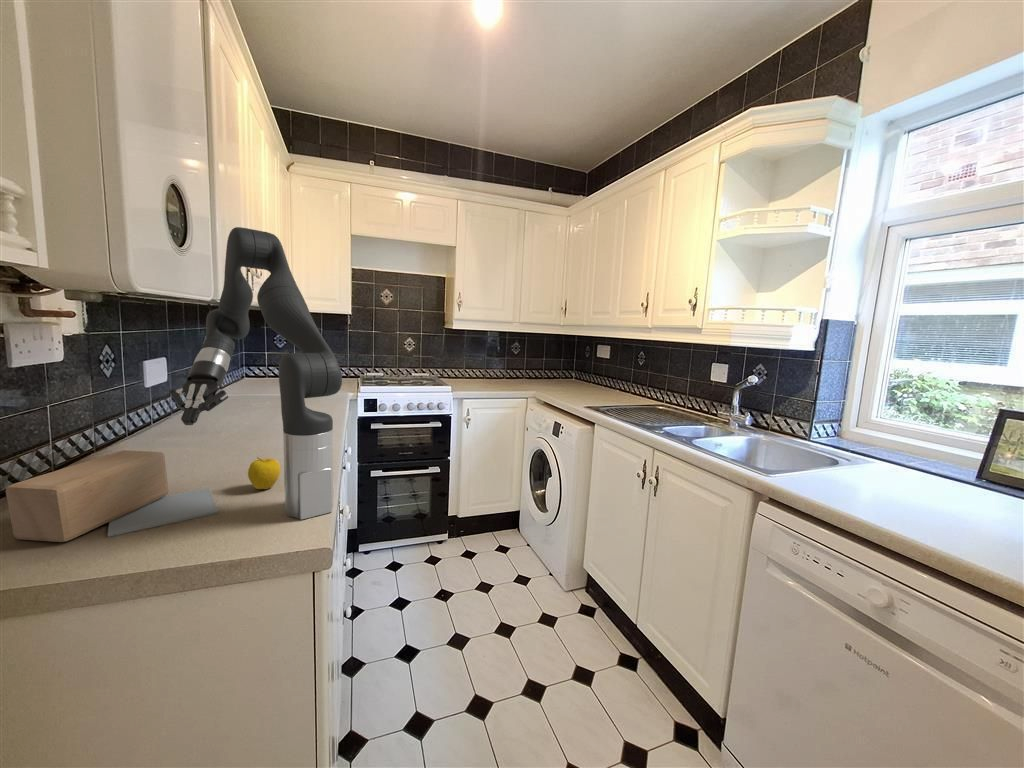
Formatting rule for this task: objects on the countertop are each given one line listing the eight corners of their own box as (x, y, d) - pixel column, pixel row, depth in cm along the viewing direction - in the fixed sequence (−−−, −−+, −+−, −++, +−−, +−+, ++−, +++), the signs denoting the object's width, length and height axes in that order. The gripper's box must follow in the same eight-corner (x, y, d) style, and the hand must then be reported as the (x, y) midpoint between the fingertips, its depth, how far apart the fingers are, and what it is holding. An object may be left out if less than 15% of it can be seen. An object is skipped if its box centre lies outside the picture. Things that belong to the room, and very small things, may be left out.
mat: (218, 512, 83) (218, 511, 83) (107, 537, 72) (107, 534, 72) (208, 489, 94) (208, 487, 94) (111, 507, 83) (111, 505, 83)
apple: (242, 492, 93) (240, 459, 92) (262, 482, 99) (261, 450, 98) (267, 495, 92) (266, 461, 91) (286, 484, 98) (285, 453, 97)
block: (166, 450, 87) (55, 489, 67) (171, 494, 88) (64, 545, 69) (123, 448, 87) (0, 485, 68) (128, 492, 89) (10, 541, 69)
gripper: (175, 358, 105) (148, 415, 95) (233, 360, 108) (212, 415, 98) (187, 375, 111) (163, 431, 101) (242, 377, 114) (223, 431, 104)
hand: (187, 423), depth 99 cm, fingers closed
